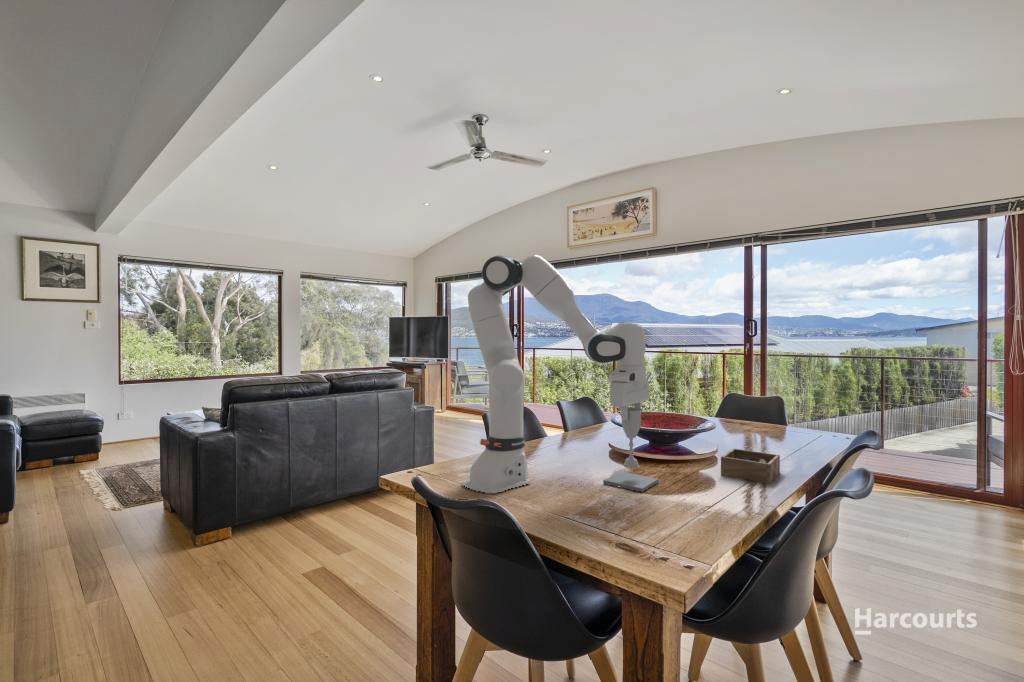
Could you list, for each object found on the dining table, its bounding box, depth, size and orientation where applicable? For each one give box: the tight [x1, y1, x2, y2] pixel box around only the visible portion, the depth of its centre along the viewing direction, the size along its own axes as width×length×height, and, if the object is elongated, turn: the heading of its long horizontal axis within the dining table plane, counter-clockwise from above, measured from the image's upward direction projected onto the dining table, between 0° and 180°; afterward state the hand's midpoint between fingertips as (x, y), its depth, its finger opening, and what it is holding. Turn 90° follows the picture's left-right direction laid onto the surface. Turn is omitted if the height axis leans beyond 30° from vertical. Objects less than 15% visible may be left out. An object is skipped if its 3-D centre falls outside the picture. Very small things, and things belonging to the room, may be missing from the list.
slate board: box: [602, 470, 660, 493], centre depth 152 cm, size 12×13×1 cm
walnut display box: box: [720, 448, 781, 484], centre depth 162 cm, size 15×15×6 cm
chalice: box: [621, 406, 643, 469], centre depth 152 cm, size 7×7×18 cm
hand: (631, 417), depth 152 cm, fingers closed on chalice, 6 cm apart
